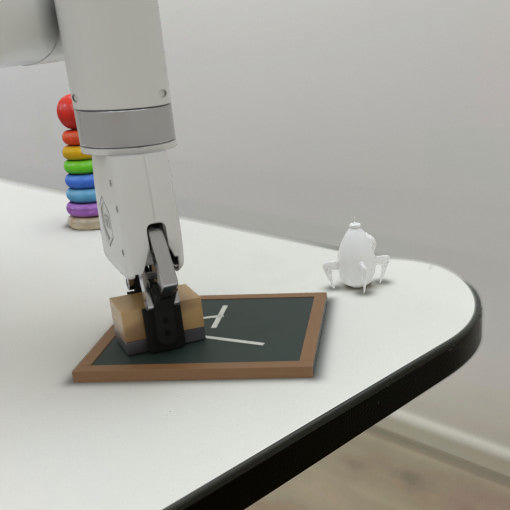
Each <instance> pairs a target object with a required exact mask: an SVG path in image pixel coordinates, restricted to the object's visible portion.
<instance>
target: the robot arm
mask: <svg viewBox="0 0 510 510" xmlns="http://www.w3.org/2000/svg"><path fill="white" fill-rule="evenodd" d="M58 62H64V64H65V70H66V71H65V72H66V74H67V75H66V76H67V81H68V87H69V92H70V93H69V94H71V98H72V104H73V108H74V114H75V120H76V125H77V131H78V136H79V142H80V148H81V153H83V154H86V155H92V165H93V176H94V185H95V192H96V200H97V207H98V214H99V222H100V229H99V230H100V235H101V236H100V237H101V243H102V249H103V254H104V256H105V257H106V258H107V260H108V261H109V262H110V264H112V266H113V267H114V268H115V269H116V270H117V271H118V272H119V273H120V274H121V275H122V276H123V277H124V279H125V286H126V289H127V290H128V291H127V292H126V295H128V294H134V293H139V292H142V294H143V299H144V303H145V307H146V308H144V309H142V314H143V320H144V327H145V333H146V339H147V345H148V349H149V351H150V352H151V353H158V352H162V351H167V350H171V349H176V348H180V347H183V346H184V345H185V344H186V341H185V334H184V327H183V319H182V312H181V305H180V298H179V293H178V288H177V287H178V285H179V279H178V276H177V272H179V271H180V270H181V269H182V268H183V266H184V264H185V255H184V244H183V236H182V229H181V222H180V214H179V209H178V203H177V198H176V191H175V187H174V181H173V174H172V171H171V170H172V169H171V166H170V160H169V156H168V151H167V150H170V149H173V148H175V147H176V146H177V138H176V129H175V121H174V114H173V106H172V99H171V91H170V82H169V76H168V69H167V61H166V52H165V45H164V37H163V30H162V22H161V14H160V6H159V0H0V69H4V68H5V69H6V68H12V67H19V66H24V67H27V66H37V65H46V64H47V65H48V64H52V63H53V64H54V63H58ZM151 291H152V293H151Z"/></svg>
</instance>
